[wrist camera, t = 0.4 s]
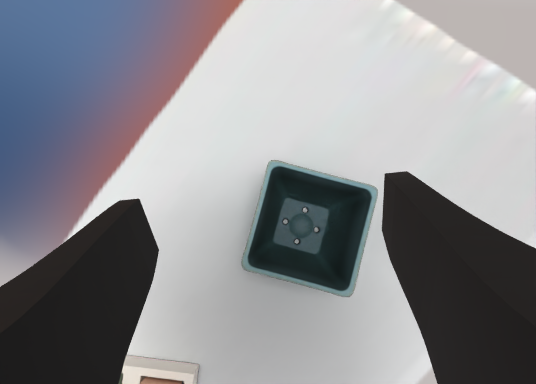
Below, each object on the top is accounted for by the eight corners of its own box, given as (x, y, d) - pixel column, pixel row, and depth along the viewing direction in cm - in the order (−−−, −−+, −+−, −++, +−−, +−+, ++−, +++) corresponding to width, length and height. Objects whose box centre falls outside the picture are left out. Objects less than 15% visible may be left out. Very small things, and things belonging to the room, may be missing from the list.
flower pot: (333, 281, 37) (352, 300, 28) (247, 258, 37) (239, 269, 28) (354, 195, 38) (380, 187, 29) (269, 173, 38) (269, 158, 29)
